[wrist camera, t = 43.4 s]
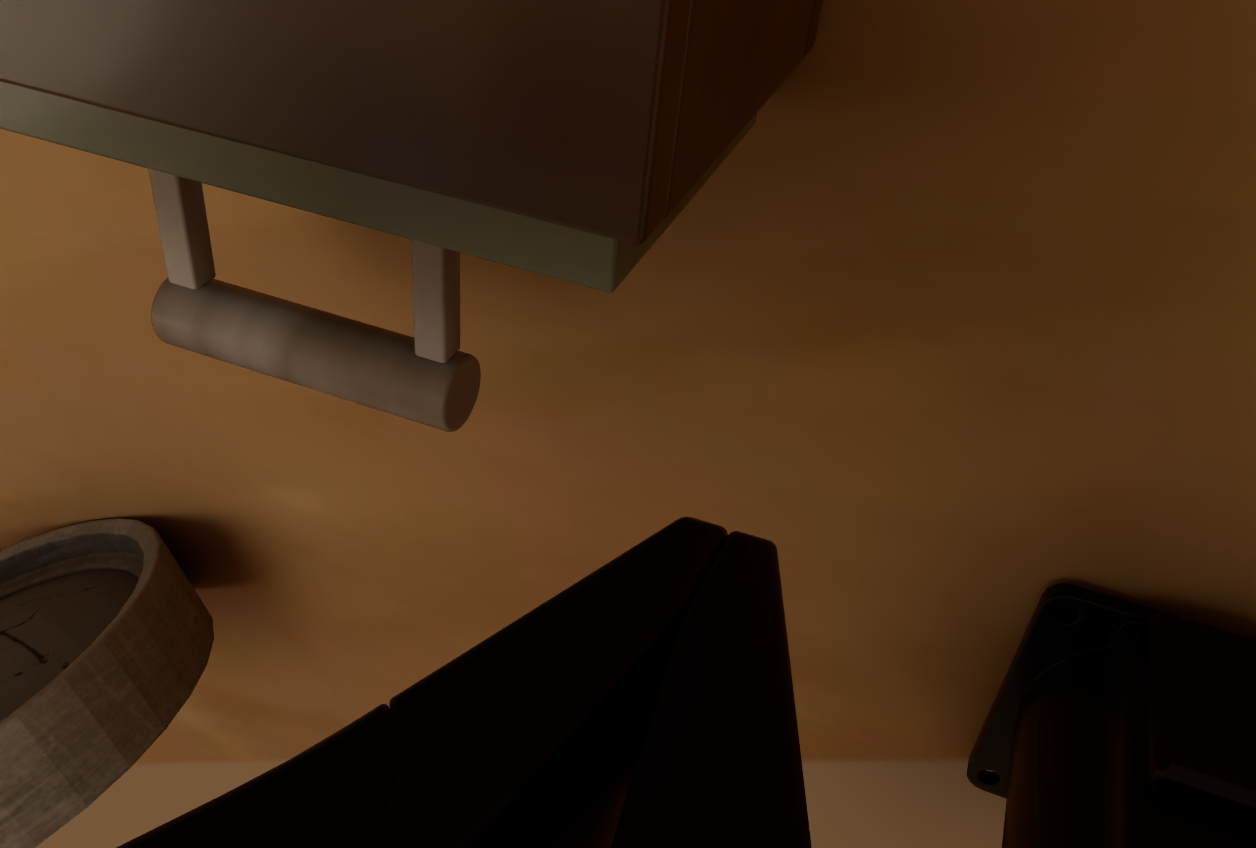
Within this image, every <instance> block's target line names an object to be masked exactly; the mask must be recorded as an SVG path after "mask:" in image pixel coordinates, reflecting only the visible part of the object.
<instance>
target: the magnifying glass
mask: <svg viewBox="0 0 1256 848" xmlns="http://www.w3.org/2000/svg"><path fill="white" fill-rule="evenodd" d="M213 641H214V633H213V620H212V617H211V615H210V614H209V612H208V610H207V609H206V607H205V605H204V604H203V602H202V601H201V599H200V598H199V596H198V594H197V593H196V591H195V590H194V588H193V587H192V585H191V584H190V582H189V580H188V579H187V577H186V576H185V574H184V573H183V571H182V569H181V568H180V566H179V565H178V563H177V562H176V560H175V559H174V557H173V555H172V554H171V552H170V551H169V549H168V548H167V546H166V544H165V543H164V541H163V540H162V538H161V537H160V535H159V534H158V532H157V531H156V529H155V528H153V527H151V526H149V525H147V524H145V523H143V522H141V521H139V520H131V519H121V518H115V519H105V520H96V521H88V522H84V523H80V524H75V525H71V526H67V527H63V528H59V529H56V530H53V531H50V532H47V533H43V534H40V535H37V536H34V537H31V538H28V539H25V540H23V541H21V542H18V543H16V544H13V545H11V546H8V547H6V548H3V549H1V550H0V848H35V847H36V846H38V845H39V844H40V843H42V842H43V841H44V840H45V839H47V838H48V837H49V836H51V835H52V834H53V833H54V832H56V831H57V830H58V829H60V828H61V827H62V826H64V825H65V824H66V823H67V822H68V821H70V820H71V819H73V818H74V817H75V816H76V815H78V814H79V813H80V812H82V811H83V810H84V809H86V808H87V807H88V806H89V805H90V804H91V803H92V802H94V800H96V799H97V798H98V797H99V796H100V795H101V794H102V793H103V792H105V791H106V790H107V789H108V788H109V787H110V786H111V785H112V784H113V783H114V782H115V781H116V780H118V779H119V778H120V777H121V776H122V775H123V774H124V773H125V772H126V771H127V770H128V769H130V768H131V767H132V765H133V764H134V763H135V762H136V761H137V760H138V759H139V758H140V757H141V756H142V755H143V753H144V752H145V751H146V750H147V749H148V748H149V747H150V746H151V745H152V744H153V742H154V741H155V740H156V739H157V738H158V737H159V736H160V735H161V734H162V733H163V732H164V730H165V729H166V728H167V727H168V725H169V724H170V722H171V721H172V720H173V718H174V717H175V716H176V714H177V713H178V712H179V710H180V709H181V707H182V706H183V705H184V703H185V702H186V701H187V699H188V698H189V697H190V695H191V694H192V692H193V690H194V688H195V686H196V684H197V682H198V680H199V679H200V677H201V675H202V673H203V671H204V669H205V667H206V665H207V663H208V659H209V655H210V652H211V648H212V644H213Z"/></svg>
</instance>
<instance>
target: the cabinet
mask: <svg viewBox="0 0 1256 848" xmlns="http://www.w3.org/2000/svg"><path fill="white" fill-rule="evenodd" d="M821 5H822V0H0V81H1V82H5V83H9V84H13V85H17V86H20V87H24V88H28V89H32V90H36V91H40V92H44V93H48V94H52V95H56V96H59V97H63V98H67V99H71V100H75V101H79V102H83V103H87V104H91V105H95V106H98V107H102V108H106V109H110V110H114V111H118V112H122V113H126V114H130V115H134V116H137V117H141V118H145V119H149V120H153V121H157V122H161V123H165V124H169V125H173V126H176V127H180V128H184V129H188V130H192V131H196V132H200V133H204V134H208V135H212V136H215V137H219V138H223V139H227V140H231V141H235V142H239V143H243V144H247V145H251V146H254V147H258V148H262V149H266V150H270V151H274V152H278V153H282V154H286V155H289V156H293V157H297V158H301V159H305V160H309V161H313V162H317V163H321V164H325V165H328V166H332V167H336V168H340V169H344V170H348V171H352V172H356V173H360V174H364V175H367V176H371V177H375V178H379V179H383V180H387V181H391V182H395V183H399V184H403V185H406V186H410V187H414V188H418V189H422V190H426V191H430V192H434V193H438V194H442V195H445V196H449V197H453V198H457V199H461V200H465V201H469V202H473V203H477V204H481V205H484V206H488V207H492V208H496V209H500V210H504V211H508V212H512V213H516V214H520V215H523V216H527V217H531V218H535V219H539V220H543V221H547V222H551V223H555V224H559V225H562V226H566V227H570V228H574V229H578V230H582V231H586V232H590V233H594V234H598V235H601V236H605V237H609V238H613V239H617V240H621V241H625V242H629V243H633V244H643V243H644V242H645V241H646V239H647V238H648V237H649V236H650V235H651V234H652V233H653V231H654V230H655V229H656V228H657V227H658V226H659V224H660V223H661V222H662V220H663V219H664V218H666V217H667V216H668V215H669V214H670V213H671V212H672V210H673V209H674V208H675V207H676V206H677V205H678V203H679V202H680V201H681V200H682V199H683V198H684V197H685V195H686V194H687V193H688V192H689V191H690V190H691V188H692V187H693V186H694V185H695V184H696V183H697V181H698V180H699V179H700V178H701V177H702V176H703V174H704V173H705V172H706V171H707V170H708V169H709V168H710V166H711V165H712V164H713V163H714V162H715V161H716V159H717V158H718V157H719V156H720V155H721V154H722V152H723V151H724V150H725V149H726V148H727V147H728V145H729V144H730V143H731V142H732V141H733V140H734V139H735V137H736V136H737V135H738V134H739V133H740V132H741V130H742V129H743V128H744V127H745V126H746V125H747V123H748V122H749V121H750V120H751V119H752V118H753V116H754V115H755V114H756V113H757V112H758V111H759V109H760V108H761V107H762V106H763V105H764V104H765V103H766V101H767V100H768V99H769V98H770V97H771V96H772V94H773V93H774V92H775V91H776V90H777V89H778V87H779V86H780V85H781V84H782V83H783V82H784V80H785V79H786V78H787V77H788V76H789V75H790V74H791V72H792V71H793V70H794V69H795V68H796V67H797V65H798V64H799V63H800V62H801V61H802V59H803V58H804V56H805V55H806V54H807V53H808V52H809V51H810V50H811V48H812V47H813V45H814V42H815V37H816V32H817V26H818V21H819V16H820V11H821Z"/></svg>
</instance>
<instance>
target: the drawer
mask: <svg viewBox="0 0 1256 848" xmlns="http://www.w3.org/2000/svg"><path fill="white" fill-rule="evenodd" d="M756 116H757V113H756V114H755V115H754V116H753V118H752V119H751V120H750V121H749V122H748V123H747V125H746V126H745V127H744V128H743V129H742V130H741V132H740V133H739V134H738V135H737V136H736V137H735V139H734V140H733V141H732V142H731V143H730V144H729V145H728V147H727V148H726V149H725V150H724V151H723V152H722V154H721V155H720V156H719V157H718V158H717V159H716V161H715V162H714V163H713V164H712V165H711V166H710V168H709V169H708V170H707V171H706V172H705V173H704V174H703V176H702V177H701V178H700V179H699V180H698V181H697V183H696V184H695V185H694V186H693V187H692V188H691V190H690V191H689V192H688V193H687V194H686V195H685V197H684V198H683V199H682V200H681V201H680V202H679V203H678V205H677V206H676V207H675V208H674V209H673V210H672V212H671V213H670V214H669V215H668V216H667V217H666V218H664V219H663V220H662V222H661V223H660V224H659V226H658V227H657V228H656V229H655V230H654V231H653V233H652V234H651V235H650V236H649V237H648V238H647V239H646V241H645V242H644V243H643V244H633V243H629V242H625V241H621V240H617V239H613V238H609V237H605V236H601V235H598V234H594V233H590V232H586V231H582V230H578V229H574V228H570V227H566V226H562V225H559V224H555V223H551V222H547V221H543V220H539V219H535V218H531V217H527V216H523V215H520V214H516V213H512V212H508V211H504V210H500V209H496V208H492V207H488V206H484V205H481V204H477V203H473V202H469V201H465V200H461V199H457V198H453V197H449V196H445V195H442V194H438V193H434V192H430V191H426V190H422V189H418V188H414V187H410V186H406V185H403V184H399V183H395V182H391V181H387V180H383V179H379V178H375V177H371V176H367V175H364V174H360V173H356V172H352V171H348V170H344V169H340V168H336V167H332V166H328V165H325V164H321V163H317V162H313V161H309V160H305V159H301V158H297V157H293V156H289V155H286V154H282V153H278V152H274V151H270V150H266V149H262V148H258V147H254V146H251V145H247V144H243V143H239V142H235V141H231V140H227V139H223V138H219V137H215V136H212V135H208V134H204V133H200V132H196V131H192V130H188V129H184V128H180V127H176V126H173V125H169V124H165V123H161V122H157V121H153V120H149V119H145V118H141V117H137V116H134V115H130V114H126V113H122V112H118V111H114V110H110V109H106V108H102V107H98V106H95V105H91V104H87V103H83V102H79V101H75V100H71V99H67V98H63V97H59V96H56V95H52V94H48V93H44V92H40V91H36V90H32V89H28V88H24V87H20V86H17V85H13V84H9V83H5V82H1V81H0V128H1V129H4V130H8V131H12V132H16V133H19V134H23V135H27V136H30V137H34V138H38V139H42V140H45V141H49V142H53V143H56V144H60V145H64V146H68V147H71V148H75V149H79V150H82V151H86V152H90V153H93V154H97V155H101V156H105V157H108V158H112V159H116V160H119V161H123V162H127V163H131V164H134V165H138V166H142V167H145V168H148V170H149V175H150V181H151V186H152V192H153V197H154V203H155V208H156V213H157V219H158V224H159V230H160V235H161V241H162V246H163V252H164V257H165V262H166V268H167V273H168V278H167V279H166V280H165V281H164V282H163V283H162V285H161V286H160V287H159V289H158V291H157V293H156V295H155V298H154V301H153V304H152V310H151V320H152V326H153V329H154V331H155V333H156V335H157V336H158V337H159V338H160V339H161V340H162V341H163V342H165V343H167V344H171V345H174V346H177V347H180V348H183V349H186V350H190V351H193V352H196V353H199V354H202V355H206V356H209V357H212V358H215V359H218V360H221V361H225V362H228V363H231V364H234V365H237V366H240V367H244V368H247V369H250V370H253V371H256V372H260V373H263V374H266V375H269V376H272V377H275V378H279V379H282V380H285V381H288V382H291V383H294V384H298V385H301V386H304V387H307V388H310V389H314V390H317V391H320V392H323V393H326V394H329V395H333V396H336V397H339V398H342V399H345V400H348V401H352V402H355V403H358V404H361V405H364V406H368V407H371V408H374V409H377V410H380V411H383V412H387V413H390V414H393V415H396V416H399V417H403V418H406V419H409V420H412V421H415V422H418V423H422V424H425V425H428V426H431V427H434V428H437V429H441V430H444V431H447V432H452V431H456V430H458V429H459V428H460V427H461V426H462V425H463V424H464V423H465V422H466V420H467V419H468V417H469V415H470V413H471V411H472V409H473V407H474V404H475V402H476V399H477V395H478V391H479V386H480V376H481V373H480V365H479V362H478V360H477V359H476V358H475V357H474V356H473V355H471V354H468V353H464V352H461V351H458V350H459V348H460V252H461V253H464V254H468V255H472V256H476V257H479V258H483V259H487V260H490V261H494V262H498V263H502V264H505V265H509V266H513V267H516V268H520V269H524V270H528V271H531V272H535V273H539V274H542V275H546V276H550V277H554V278H557V279H561V280H565V281H568V282H572V283H576V284H579V285H583V286H587V287H591V288H594V289H598V290H602V291H605V292H613V291H614V290H615V289H616V288H617V287H618V285H619V284H620V283H621V282H622V281H623V279H624V278H625V277H626V276H627V275H628V274H629V272H630V271H631V270H632V269H633V268H634V266H635V265H636V264H637V263H638V262H639V260H640V259H641V258H642V257H643V256H644V255H645V253H646V252H647V251H648V250H649V249H650V247H651V246H652V245H653V244H654V243H655V242H656V240H657V239H658V238H659V237H660V236H661V234H662V233H663V232H664V231H665V230H666V228H667V227H668V226H669V225H670V224H671V223H672V221H673V220H674V219H675V218H676V217H677V215H678V214H679V213H680V212H681V211H682V210H683V208H684V207H685V206H686V205H687V204H688V202H689V201H690V200H691V199H692V198H693V196H694V195H695V194H696V193H697V192H698V191H699V189H700V188H701V187H702V186H703V185H704V183H705V182H706V181H707V180H708V179H709V178H710V176H711V175H712V174H713V173H714V172H715V170H716V169H717V168H718V167H719V166H720V164H721V163H722V162H723V161H724V160H725V159H726V157H727V156H728V155H729V154H730V153H731V151H732V150H733V149H734V148H735V147H736V146H737V144H738V143H739V142H740V141H741V140H742V138H743V137H744V136H745V135H746V134H747V133H748V131H749V130H750V129H751V128H752V127H753V125H754V124H755V122H756ZM202 183H205V184H208V185H212V186H216V187H220V188H223V189H227V190H231V191H234V192H238V193H242V194H246V195H249V196H253V197H257V198H260V199H264V200H268V201H272V202H275V203H279V204H283V205H286V206H290V207H294V208H298V209H301V210H305V211H309V212H312V213H316V214H320V215H323V216H327V217H331V218H335V219H338V220H342V221H346V222H349V223H353V224H357V225H361V226H364V227H368V228H372V229H375V230H379V231H383V232H387V233H390V234H394V235H398V236H401V237H405V238H409V239H411V241H412V273H413V305H414V337H415V338H413V337H410V336H407V335H403V334H400V333H396V332H393V331H390V330H386V329H383V328H379V327H376V326H373V325H369V324H366V323H362V322H359V321H356V320H352V319H349V318H345V317H342V316H339V315H335V314H332V313H328V312H325V311H322V310H318V309H315V308H311V307H308V306H305V305H301V304H298V303H294V302H291V301H288V300H284V299H281V298H277V297H274V296H271V295H267V294H264V293H260V292H257V291H254V290H250V289H247V288H243V287H240V286H237V285H233V284H230V283H226V282H223V281H220V280H216V279H213V278H214V277H215V275H216V274H215V268H214V261H213V255H212V248H211V242H210V235H209V229H208V222H207V216H206V209H205V203H204V196H203V190H202Z"/></svg>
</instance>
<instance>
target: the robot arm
mask: <svg viewBox="0 0 1256 848" xmlns="http://www.w3.org/2000/svg"><path fill="white" fill-rule="evenodd" d="M1062 605H1066V606H1071V607H1073V608H1075V609H1076V610H1073V611H1070V612H1069V611H1062V610H1060V609H1058V608H1057V607H1058V606H1062ZM389 705H390V709H389V706H388V705H386V704H381V705H380V706H378V707H376V708H375V709H373V710H372V711H370V712H368V713H367V714H365V715H364V716H362V717H360V718H359V719H357V720H356V721H354V722H352V723H351V724H349V725H348V726H346V727H344V728H343V729H341V730H339V731H337V732H336V733H334V734H332V735H331V736H329V737H327V738H326V739H324V740H322V741H321V742H319V743H317V744H315V745H314V746H312V747H310V748H309V749H307V750H305V751H304V752H302V753H300V754H298V755H297V756H295V757H293V758H292V759H290V760H288V761H286V762H284V763H283V764H281V765H279V766H277V767H275V768H273V769H271V770H269V771H267V772H265V773H263V774H262V775H260V776H258V777H256V778H254V779H252V780H250V781H248V782H246V783H244V784H243V785H241V786H239V787H237V788H235V789H233V790H231V791H229V792H227V793H225V794H223V795H222V796H220V797H218V798H216V799H213V800H211V801H210V802H207V803H205V804H203V805H201V806H199V807H198V808H195V809H193V810H191V811H190V812H187V813H185V814H183V815H181V816H179V817H177V818H175V819H173V820H171V821H169V822H167V823H165V824H163V825H161V826H159V827H157V828H155V829H153V830H151V831H149V832H147V833H145V834H143V835H141V836H139V837H137V838H135V839H133V840H131V841H129V842H127V843H125V844H123V845H121V846H119V847H117V848H811V840H810V831H809V822H808V814H807V805H806V796H805V787H804V779H803V770H802V761H801V753H800V744H799V735H798V727H797V718H796V709H795V701H794V692H793V683H792V675H791V666H790V657H789V649H788V640H787V631H786V623H785V614H784V605H783V597H782V588H781V579H780V571H779V562H778V553H777V548H776V546H775V544H774V543H773V542H772V541H770V540H766V539H763V538H760V537H756V536H753V535H749V534H746V533H743V532H739V531H734V532H731V533H730V534H729V535H728V533H727V531H726V529H725V528H724V527H722V526H719V525H716V524H712V523H709V522H706V521H702V520H699V519H695V518H692V517H683V518H680V519H678V520H676V521H674V522H673V523H671V524H670V525H668V526H666V527H665V528H663V529H662V530H660V531H658V532H657V533H655V534H654V535H652V536H650V537H649V538H647V539H646V540H644V541H642V542H641V543H639V544H638V545H636V546H634V547H633V548H631V549H630V550H628V551H626V552H625V553H623V554H622V555H620V556H618V557H617V558H615V559H614V560H612V561H610V562H609V563H607V564H606V565H604V566H602V567H601V568H599V569H598V570H596V571H594V572H593V573H591V574H590V575H588V576H586V577H585V578H583V579H582V580H580V581H578V582H577V583H575V584H574V585H572V586H570V587H569V588H567V589H566V590H564V591H562V592H561V593H559V594H558V595H556V596H555V597H553V598H551V599H550V600H548V601H547V602H545V603H543V604H542V605H540V606H539V607H537V608H535V609H534V610H532V611H531V612H529V613H527V614H526V615H524V616H523V617H521V618H519V619H518V620H516V621H515V622H513V623H511V624H510V625H508V626H507V627H505V628H503V629H502V630H500V631H499V632H497V633H495V634H494V635H492V636H491V637H489V638H487V639H486V640H484V641H483V642H481V643H479V644H478V645H476V646H475V647H473V648H471V649H470V650H468V651H467V652H465V653H463V654H462V655H460V656H459V657H457V658H455V659H454V660H452V661H451V662H449V663H447V664H446V665H444V666H443V667H441V668H439V669H438V670H436V671H435V672H433V673H431V674H430V675H428V676H427V677H425V678H423V679H422V680H420V681H419V682H417V683H415V684H414V685H412V686H411V687H409V688H407V689H406V690H404V691H403V692H401V693H399V694H398V695H396V696H395V697H393V698H392V699H391V700H390V704H389ZM986 770H992V771H994V772H990V771H986ZM967 777H968V779H969V781H970V782H971V783H972V784H973V785H974V786H976V787H978V788H980V789H982V790H984V791H987V792H990V793H992V794H995V795H998V796H1001V797H1004V798H1006V799H1007V802H1006V812H1005V823H1004V831H1003V832H1004V833H1003V841H1002V848H1256V640H1253V639H1250V638H1247V637H1244V636H1240V635H1237V634H1234V633H1230V632H1227V631H1224V630H1221V629H1217V628H1214V627H1211V626H1208V625H1204V624H1201V623H1198V622H1194V621H1191V620H1188V619H1185V618H1181V617H1178V616H1175V615H1171V614H1168V613H1165V612H1162V611H1158V610H1155V609H1152V608H1149V607H1145V606H1142V605H1139V604H1135V603H1132V602H1129V601H1126V600H1122V599H1119V598H1116V597H1113V596H1109V595H1106V594H1103V593H1099V592H1096V591H1093V590H1090V589H1086V588H1083V587H1080V586H1076V585H1072V584H1065V583H1064V584H1056V585H1053V586H1051V587H1049V588H1047V589H1046V590H1045V592H1044V593H1043V594H1042V596H1041V598H1040V601H1039V603H1038V605H1037V607H1036V609H1035V612H1034V614H1033V616H1032V618H1031V621H1030V623H1029V625H1028V627H1027V629H1026V632H1025V634H1024V636H1023V638H1022V641H1021V643H1020V645H1019V647H1018V649H1017V652H1016V654H1015V656H1014V658H1013V661H1012V663H1011V665H1010V667H1009V669H1008V672H1007V674H1006V676H1005V678H1004V681H1003V683H1002V685H1001V687H1000V689H999V692H998V694H997V696H996V698H995V701H994V703H993V705H992V707H991V709H990V712H989V714H988V716H987V718H986V721H985V723H984V725H983V727H982V729H981V732H980V734H979V736H978V738H977V741H976V743H975V745H974V747H973V749H972V752H971V754H970V756H969V762H968V769H967Z"/></svg>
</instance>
